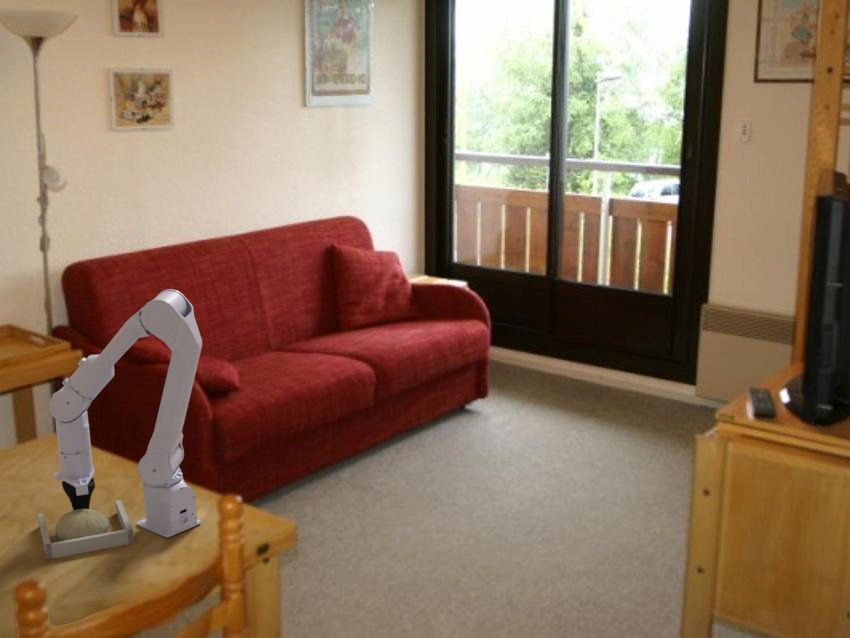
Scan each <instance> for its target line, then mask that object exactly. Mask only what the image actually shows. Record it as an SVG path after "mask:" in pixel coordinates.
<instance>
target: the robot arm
mask: <svg viewBox="0 0 850 638" xmlns="http://www.w3.org/2000/svg"><path fill="white" fill-rule="evenodd" d="M194 312H195V311H194V305H192V303H191V302H190V301H189V299H188V298H187V297H186V296H185V294H183V293H182V292H181V291H179V290H176V289H173V288H169V289H168V288H167V289H165V290H163V291H159V293H158V294H157V295H156V296H155V297H154V298H153V299H152V300H149V301H148V302H147V303H146V304H144V305H143V307H142V308H140V309H139V310H138V311H137V312H136V313H135V314H133V315H132V316H131V317H129V318H128V319H127V321H125V323H124V324H123V325H122V327H121V328H119V330H118V332H117V333H115V335H113V338H112V339H111V340H110V341H109V343H108V344H107V345H106V346H105V348H103V350H102V352H100V353H98V354H90V355H88V356H87V357H82V358H81V359H80V361H78V363H77V366H78V367H77V369H76V370H75V371H74V372H73V374H72V375H71V376H70V377H66V378H65V379H64V380H63V381H62V382H61V383H62V385H63V386H62V387H61V388H60V389H59V390H58V391H56V392H54V393H53V394H52V395H51V398H50V399H49V403H48V409H49V412H50V414H51V415H52V417H53V418H54V419H55V429H56V431H55V432H56V439H57V449H58V459H59V465H60V466H59V467H60V469H59V470H60V471H59V472H55V473H53V475H54V479H55V480H56V481H58V480H62V481H61V485H62V489H63V491H64V493H65V495H66V497H68V499H69V501H70V504H71V508H72V511H73V510H77V509H90V504H91V498H92V495H93V491H95V487H96V482H95V479H94V475H95V473H96V472H95V467H94V463H93V454H92V453H93V452H92V444H91V435H90V433H91V432H90V424H89V416H88V409H89V408H90V406H91V404H92V401H94V400H95V399H96V397H97V396H98V395H99V393H101V391H103V389H104V388H105V387H106V385H108V383H110V381H111V380H112V379H113V378H114V377H115V364H116V363H117V362H118V361H119V360H120V359H121V358H122V356H124V354H125V353H126V352H127V351H128V350H129V349H131V347H132V346H133V345H134V344H135V343H136V342H137V340H138V339H141V338H147V337H150V335H151V334H152V335H154V336H155V337H156V338H158V339H159V340H161V341H162V342H164V343H165V345H166V346H167V347H168V348H169V349H170V351H171V356H170V362H169V365H168V368H167V374H166V377H165V382H164V386H163V391H162V394H161V400H160V404H159V408H158V413H157V417H156V421H155V424H154V425H155V426H154V431H153V433H152V436H151V439H150V440H149V443H148V445H147V450H146V452H145V454H144V456H142V457H141V458H140V460H139V462H138V465H137V474H138V476H139V478H140V480H141V481H142V487H143V499H144V511H145V518H143V519H140V520H139V521H137V522H136V526H138V527H141V528H143V529H146V530H148V531H150V532H152V533H155V534H157V535H160V536H162V537H164V538H171V537H173V536H175V535H178V534H179V533H182V532H184V531H186V530H189V529H191V528H194V527H197V526H198V525H200V524H202V521H201V520H200V519H198V515H197V514H198V513H197V503H196V502H197V500H196V494H195V492H194V489H193V488H192V487H190V486H189V485H188V484H187V483H186V482H185V479H184V476H183V472H182V469H181V468H180V465H181V463H182V462H183V460H184V456H185V452H184V451H185V450H184V446H183V439H184V434H183V427H184V425H185V419H186V417H187V416H186V415H187V413H188V412H187V411H188V407H189V402H190V398H191V394H192V389H193V385H194V381H195V378H196V373H197V368H198V366H199V360H200V357H201V352H202V347H203V339H202V336H201V333H200V330H199V327H198V323H197V321H196V318H195V313H194Z"/></svg>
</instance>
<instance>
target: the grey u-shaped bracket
mask: <svg viewBox="0 0 850 638" xmlns="http://www.w3.org/2000/svg"><path fill="white" fill-rule="evenodd" d="M115 511H116V513H115V514H116V516H117V518H118V520H119V523H120V525H121V529H119V530H114V531H107V532H106V533H103V534H98V535H92V536H87V537H82V538H76V539H71V540H65V541H60V540H59V541H55V542H51V539H50V534H49V528H48V526H47V521H46V517H45V514H44V513H38V514H37V516H38V517H37V518H38V524H39V530H40V536H41V540H42V544H43V548H44V549H43V550H44V555H45V558H46V560H47V561H48V560H53V559H58V558H63V557H67V556H75V555H79V554H85V553H88V552H89V553H90V552H94V551H95V552H96V551H99V550H105V549H111V548H116V547H120V546H127V545H131V544H135V535H134V534H135V533H134V529H133V527H132V525H131V521H130V519H129V517H128V514H127V512H126V510H125V507H124V505H123V501H122V499H118V500H115Z"/></svg>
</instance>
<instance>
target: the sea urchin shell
mask: <svg viewBox="0 0 850 638" xmlns="http://www.w3.org/2000/svg"><path fill="white" fill-rule="evenodd" d="M109 527H110V522H109V518H107V516H106V515H105V514H104V513H102V512H100V511H98V510H94V509H91V508H89V509H77V510H73V509H72V510H70V511H68V512H65V513H64V514H63V515H61V516H60V518H59V519H58V521H57V523H56V524H55V529H54V530H55V534H56V538H57V539H58V541H59V542H60V541H65V540H71V539H76V538H82V537H87V536H92V535H98V534H103V533H108V530H109Z"/></svg>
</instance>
